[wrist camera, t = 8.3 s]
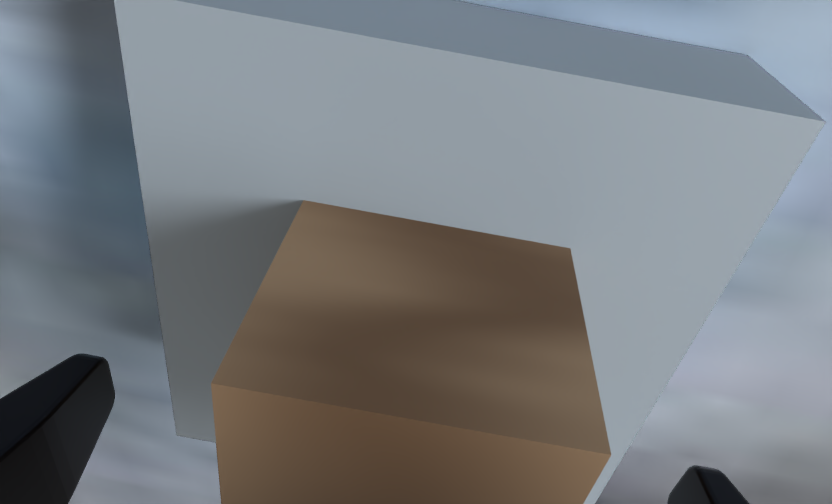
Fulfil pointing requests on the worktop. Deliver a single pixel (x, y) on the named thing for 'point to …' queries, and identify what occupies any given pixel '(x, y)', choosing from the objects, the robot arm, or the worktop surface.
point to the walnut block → (409, 370)
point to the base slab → (451, 162)
